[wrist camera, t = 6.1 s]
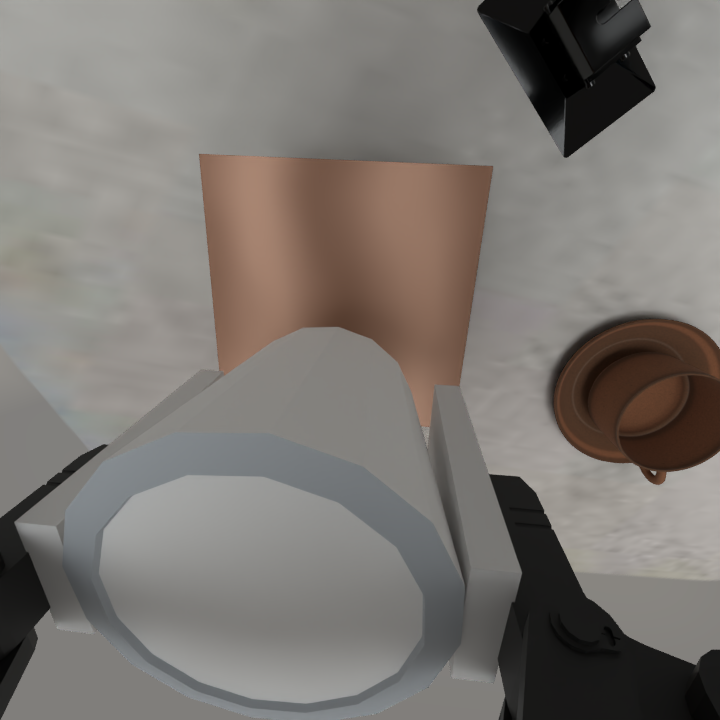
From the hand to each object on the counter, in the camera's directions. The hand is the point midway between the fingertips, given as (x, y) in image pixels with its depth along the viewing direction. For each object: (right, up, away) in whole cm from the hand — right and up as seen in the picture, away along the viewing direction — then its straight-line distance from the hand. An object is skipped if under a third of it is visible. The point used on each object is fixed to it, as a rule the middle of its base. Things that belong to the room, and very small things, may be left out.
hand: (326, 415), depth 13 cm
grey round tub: (0, 0, 0) cm, 1 cm away
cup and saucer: (+22, 0, +18) cm, 29 cm away
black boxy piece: (+14, +21, +11) cm, 27 cm away
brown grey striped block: (+1, +9, +16) cm, 18 cm away
